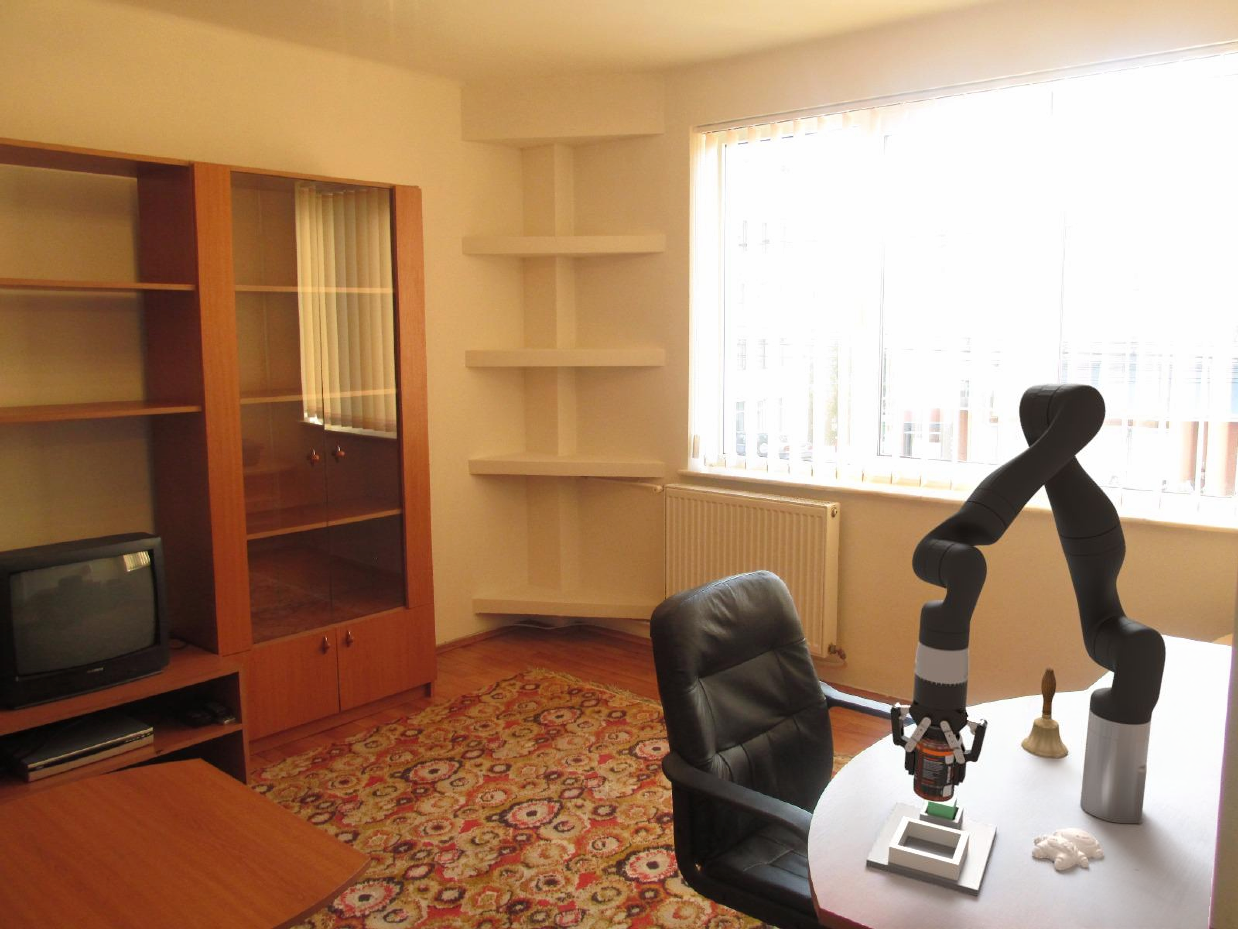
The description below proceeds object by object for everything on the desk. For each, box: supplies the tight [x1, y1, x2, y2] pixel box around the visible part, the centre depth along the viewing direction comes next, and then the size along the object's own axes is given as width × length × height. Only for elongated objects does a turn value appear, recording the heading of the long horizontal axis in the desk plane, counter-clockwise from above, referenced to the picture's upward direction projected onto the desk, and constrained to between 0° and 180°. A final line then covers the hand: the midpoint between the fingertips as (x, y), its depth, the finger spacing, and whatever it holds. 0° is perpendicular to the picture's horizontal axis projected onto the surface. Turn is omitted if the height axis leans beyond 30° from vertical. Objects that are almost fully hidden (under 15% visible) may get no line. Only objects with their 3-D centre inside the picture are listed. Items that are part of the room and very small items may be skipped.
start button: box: [927, 795, 958, 820], centre depth 158 cm, size 4×4×3 cm
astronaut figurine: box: [1031, 827, 1104, 871], centre depth 152 cm, size 9×12×3 cm
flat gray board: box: [865, 800, 998, 897], centre depth 153 cm, size 16×20×4 cm
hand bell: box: [1020, 667, 1069, 759], centre depth 187 cm, size 8×8×16 cm
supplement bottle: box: [912, 725, 956, 802], centre depth 147 cm, size 6×6×11 cm
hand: (934, 777), depth 148 cm, fingers closed on supplement bottle, 6 cm apart
